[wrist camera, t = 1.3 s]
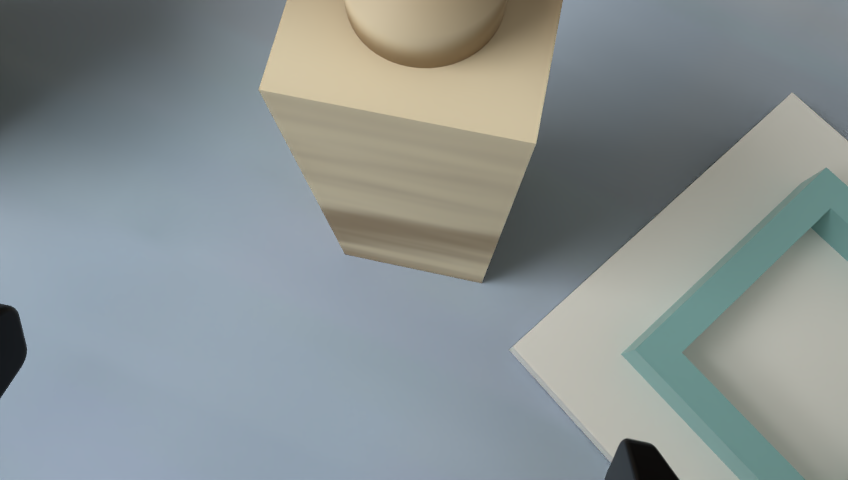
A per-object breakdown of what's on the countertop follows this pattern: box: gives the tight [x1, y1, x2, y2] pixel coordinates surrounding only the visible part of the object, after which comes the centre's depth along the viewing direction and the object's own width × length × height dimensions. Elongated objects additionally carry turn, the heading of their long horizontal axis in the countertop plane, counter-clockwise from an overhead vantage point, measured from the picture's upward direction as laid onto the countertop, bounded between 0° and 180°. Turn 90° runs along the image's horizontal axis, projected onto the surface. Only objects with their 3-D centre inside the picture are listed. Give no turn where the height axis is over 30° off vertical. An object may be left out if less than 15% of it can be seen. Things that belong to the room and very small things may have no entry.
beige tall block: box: [259, 0, 563, 283], centre depth 17 cm, size 5×5×13 cm
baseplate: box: [509, 93, 848, 480], centre depth 20 cm, size 14×14×2 cm
